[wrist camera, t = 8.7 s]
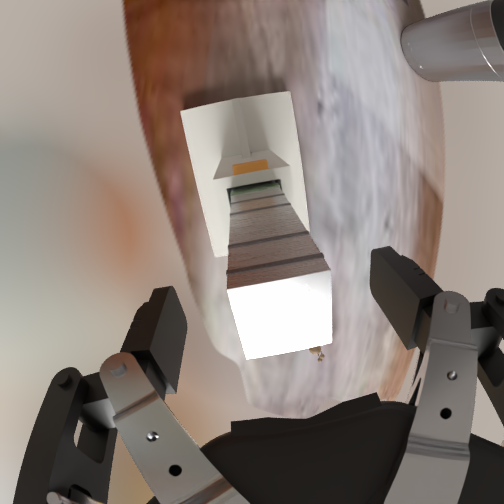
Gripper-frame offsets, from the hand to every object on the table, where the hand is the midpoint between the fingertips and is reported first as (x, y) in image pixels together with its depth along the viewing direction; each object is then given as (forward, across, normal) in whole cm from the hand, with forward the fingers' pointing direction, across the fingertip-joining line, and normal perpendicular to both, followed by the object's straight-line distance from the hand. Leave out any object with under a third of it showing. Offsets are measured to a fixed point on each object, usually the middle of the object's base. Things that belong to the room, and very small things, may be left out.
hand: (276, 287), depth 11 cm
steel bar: (+15, 0, 0) cm, 15 cm away
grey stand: (+24, 0, 0) cm, 24 cm away
